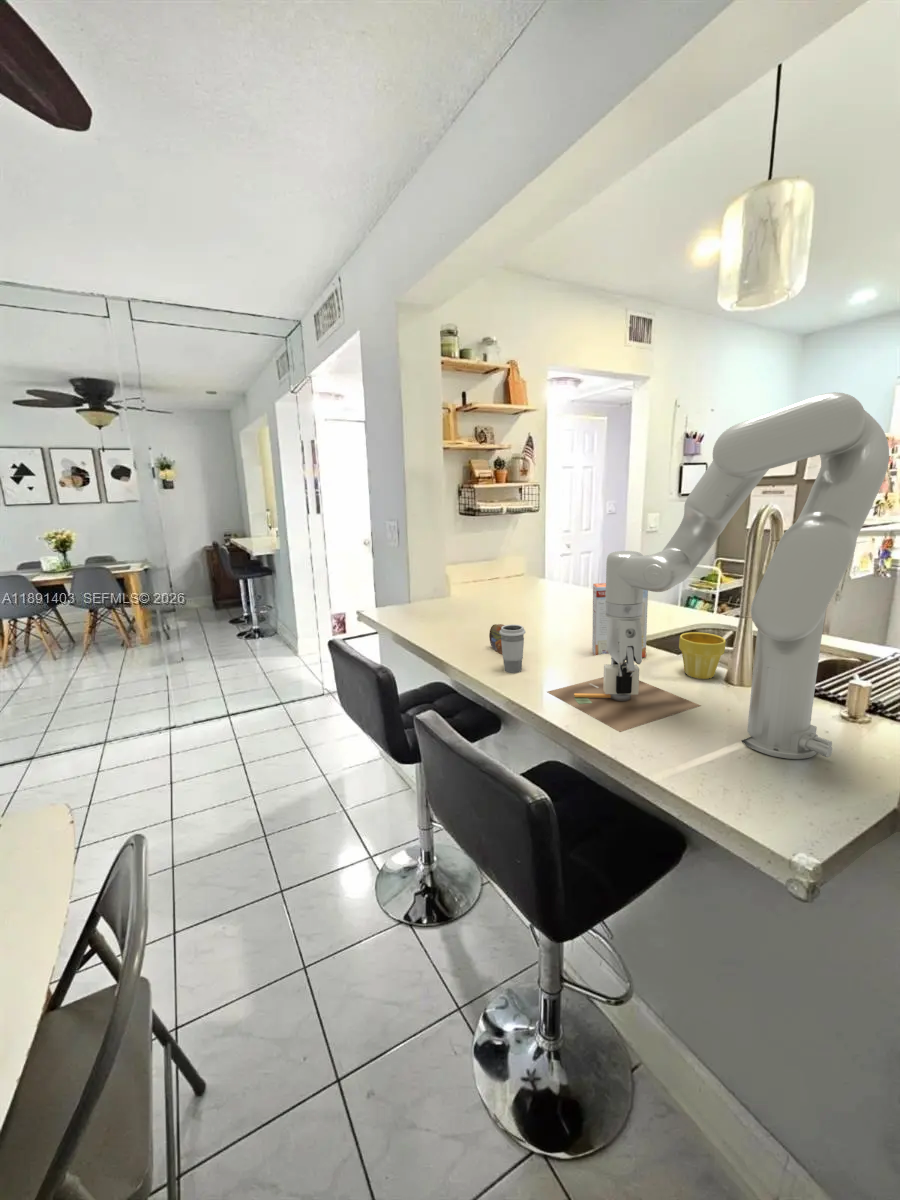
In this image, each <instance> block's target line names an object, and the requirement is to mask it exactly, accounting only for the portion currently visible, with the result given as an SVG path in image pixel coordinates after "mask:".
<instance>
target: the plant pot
mask: <svg viewBox="0 0 900 1200" xmlns="http://www.w3.org/2000/svg"><path fill="white" fill-rule="evenodd" d="M678 648H679V650H680V651H681V655H682V662H683V669H684V673H686V674H687V676H688V677H690V676H691V677H690V678H693V679H699V680H709V678H710V679H712V677H713V678H714V677H715V674H716V671H717V668H718V665H719V664H720V659H721V657H722V656H723V655H724V654H725V650H726V639H725V638H724V637H723V636H720V635H717V634H713V633H707V632H699V631H698V632H697V631H695V632H694V631H693V632H692V631H691V632H683V633H682V634H680V636H679V641H678ZM686 674H685V675H686Z"/></svg>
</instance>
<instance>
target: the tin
mask: <svg viewBox="0 0 900 1200" xmlns="http://www.w3.org/2000/svg"><path fill="white" fill-rule="evenodd" d="M505 625H506V624H502V623H501V624H500V623H498V624H497V623H496V624H495V623H494V624H492V625H491V626H490V629H489V635H488V636H489V643H490V646H491V648H492V650H493V651H494V652H496V653H498V654H500V655H502V644H501V634H500V633H499V632H500V630H501V627H502V626H505Z"/></svg>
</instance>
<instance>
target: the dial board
mask: <svg viewBox="0 0 900 1200" xmlns="http://www.w3.org/2000/svg"><path fill="white" fill-rule="evenodd" d="M603 682H604V676H603V677H599V678H595V679H591V680H587V681H583V682H580V683H575V684H572V685H567V686H564V687H560V688H556V689H552V690H548V691H547V693H548V694H549V695H552V696H554V697H555V698H557V699H558V700H561V701H562V702H564V703H566V704H568V705H570V706H571V707H573V708H575V709H577V710H578V711H580V712H583V713H584V714H586V715H587V716H589V717H591V718H592V719H595V720H597V721H598V722H601V723H603V724H604V725H606V726H607V727H610V728H611V729H613V730H615V731H617V732H619V733H622V732H624V731H628V730H630V729H631V730H632V729H634V728H637V727H640V726H643V725H646V724H650V723H653V722H656V721H658V720H661V719H664V718H665V719H666V718H667V717H670V716H674V715H677V714H680V713H684V712H687V711H690V710H692V709H695V708H698V707H701V706H702V705H701V704H698V703H696V702H693V701H691V700H689V699H686V698H685V697H681V696H679V695H676V694H674V693H671V692H669V691H666V690H664V689H661V688H659V687H657V686H654V685H651V684H649V683H647V682H645V681H642V680H640V679H639V689H638V694H631V699H630V700H628V701H617V700H614V699H612V698H597V697H574V693H587V694H605V692H604V690H603Z"/></svg>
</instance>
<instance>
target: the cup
mask: <svg viewBox="0 0 900 1200" xmlns="http://www.w3.org/2000/svg"><path fill="white" fill-rule="evenodd" d="M504 625H505V626H502V627H501V630H500V632H499V633H500V634H501V644H502V654H501V655H502V659H503V669H504V671H505V672H506V673H509V674H517V673H520V672H522V667H523V659H524V643H525V637H524V635H525V634H526V629H525V627H524V626H523V625H521V624H504Z"/></svg>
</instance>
